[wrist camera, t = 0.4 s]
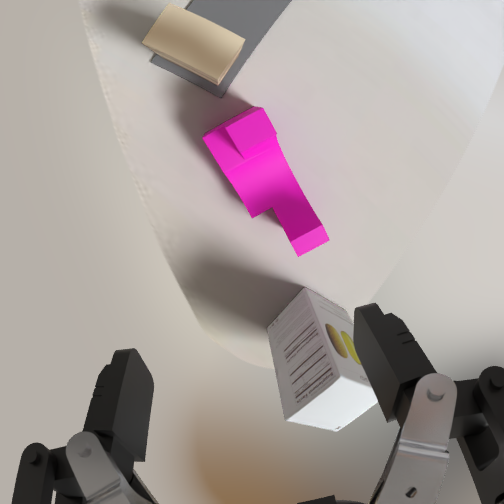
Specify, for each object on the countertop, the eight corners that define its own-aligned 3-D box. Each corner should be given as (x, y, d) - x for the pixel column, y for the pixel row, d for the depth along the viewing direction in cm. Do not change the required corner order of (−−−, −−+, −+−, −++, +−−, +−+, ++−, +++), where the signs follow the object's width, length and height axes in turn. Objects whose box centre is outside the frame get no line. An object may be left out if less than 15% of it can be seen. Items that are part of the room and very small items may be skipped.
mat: (230, -42, 22) (230, -44, 22) (297, -7, 25) (298, -8, 25) (151, 62, 28) (150, 62, 28) (221, 98, 31) (221, 98, 30)
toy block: (204, 133, 33) (200, 142, 26) (253, 106, 32) (262, 107, 25) (266, 237, 39) (277, 268, 33) (310, 214, 38) (329, 240, 32)
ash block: (182, 28, 26) (168, 2, 17) (237, 56, 28) (245, 39, 20) (163, 58, 28) (141, 42, 19) (218, 86, 30) (217, 79, 21)
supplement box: (348, 310, 46) (391, 393, 31) (310, 348, 49) (338, 433, 35) (303, 284, 43) (341, 376, 28) (264, 328, 46) (283, 422, 31)
